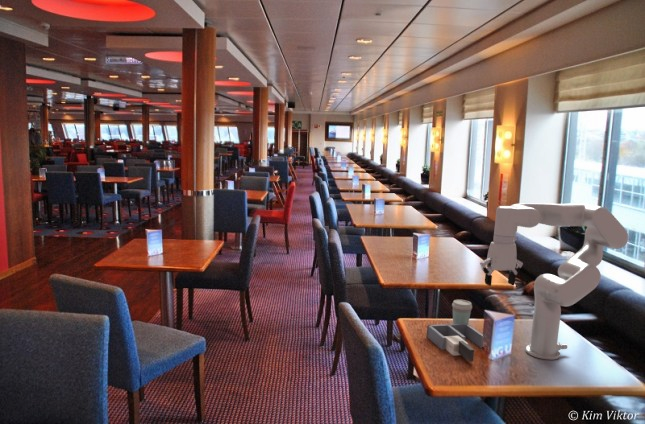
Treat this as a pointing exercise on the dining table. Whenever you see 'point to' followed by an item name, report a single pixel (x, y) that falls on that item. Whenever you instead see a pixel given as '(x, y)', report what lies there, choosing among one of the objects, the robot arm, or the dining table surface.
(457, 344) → the cream block
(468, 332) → the lane rack
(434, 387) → the dining table surface
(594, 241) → the robot arm
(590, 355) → the dining table surface
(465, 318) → the coffee cup
